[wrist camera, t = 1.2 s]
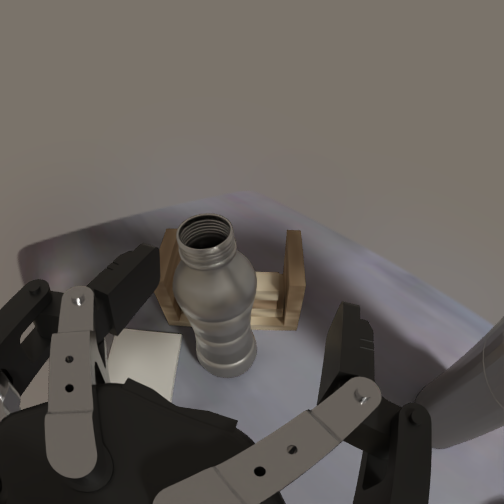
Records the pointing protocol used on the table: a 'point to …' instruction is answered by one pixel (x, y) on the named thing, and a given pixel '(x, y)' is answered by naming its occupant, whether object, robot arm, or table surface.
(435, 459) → the table surface
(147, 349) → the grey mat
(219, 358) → the plastic bottle
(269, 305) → the offcut rack
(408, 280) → the table surface
